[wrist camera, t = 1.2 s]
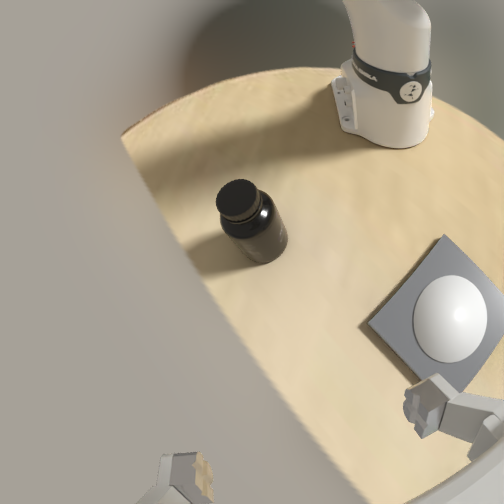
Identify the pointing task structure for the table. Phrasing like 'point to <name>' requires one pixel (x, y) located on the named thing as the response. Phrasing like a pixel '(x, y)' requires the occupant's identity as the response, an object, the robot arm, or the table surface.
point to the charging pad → (444, 317)
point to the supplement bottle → (251, 221)
